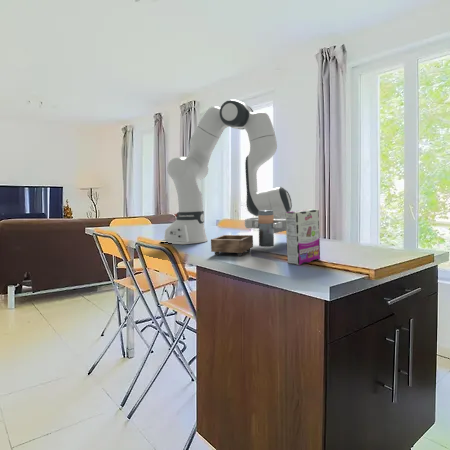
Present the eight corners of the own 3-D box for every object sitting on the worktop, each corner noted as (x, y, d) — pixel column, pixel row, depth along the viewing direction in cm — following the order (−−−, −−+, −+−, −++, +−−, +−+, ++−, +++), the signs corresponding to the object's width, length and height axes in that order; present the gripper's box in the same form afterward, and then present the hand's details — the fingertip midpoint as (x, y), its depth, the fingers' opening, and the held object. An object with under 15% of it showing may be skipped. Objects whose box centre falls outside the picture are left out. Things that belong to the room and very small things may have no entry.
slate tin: (257, 246, 132) (256, 211, 131) (261, 244, 138) (260, 210, 136) (271, 247, 130) (271, 211, 129) (275, 244, 135) (275, 210, 134)
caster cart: (211, 255, 131) (210, 239, 130) (224, 249, 142) (223, 234, 141) (242, 257, 126) (241, 240, 126) (253, 250, 137) (252, 235, 137)
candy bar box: (308, 257, 120) (307, 209, 119) (320, 259, 117) (319, 209, 115) (286, 263, 113) (284, 211, 112) (298, 265, 109) (297, 212, 108)
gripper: (250, 213, 149) (238, 216, 136) (300, 214, 141) (292, 217, 128) (251, 228, 149) (239, 233, 137) (300, 230, 141) (292, 234, 129)
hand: (265, 225), depth 132 cm, fingers closed on slate tin, 5 cm apart
